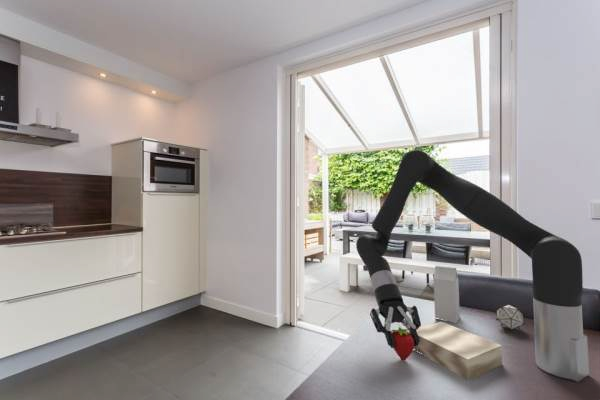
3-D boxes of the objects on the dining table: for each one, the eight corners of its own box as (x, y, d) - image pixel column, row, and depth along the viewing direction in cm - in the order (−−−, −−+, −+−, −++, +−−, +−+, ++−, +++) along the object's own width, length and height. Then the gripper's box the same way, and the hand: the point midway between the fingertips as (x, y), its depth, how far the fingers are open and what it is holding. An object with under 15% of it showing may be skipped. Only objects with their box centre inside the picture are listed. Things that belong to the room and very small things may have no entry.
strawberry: (399, 369, 74) (397, 330, 74) (386, 354, 82) (385, 319, 82) (420, 367, 75) (419, 328, 75) (406, 352, 82) (404, 317, 83)
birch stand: (502, 364, 75) (501, 345, 75) (468, 380, 69) (467, 359, 69) (441, 337, 91) (441, 321, 91) (409, 347, 85) (409, 331, 85)
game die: (518, 341, 95) (539, 323, 90) (493, 332, 95) (513, 314, 90) (506, 318, 102) (525, 301, 97) (484, 310, 103) (501, 292, 97)
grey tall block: (456, 323, 101) (454, 269, 101) (434, 319, 105) (433, 267, 106) (459, 317, 107) (457, 266, 107) (439, 313, 111) (437, 264, 111)
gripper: (365, 284, 85) (383, 343, 73) (411, 281, 87) (435, 338, 75) (360, 296, 90) (376, 353, 78) (404, 293, 92) (425, 349, 80)
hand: (405, 345), depth 77 cm, fingers closed on strawberry, 6 cm apart
